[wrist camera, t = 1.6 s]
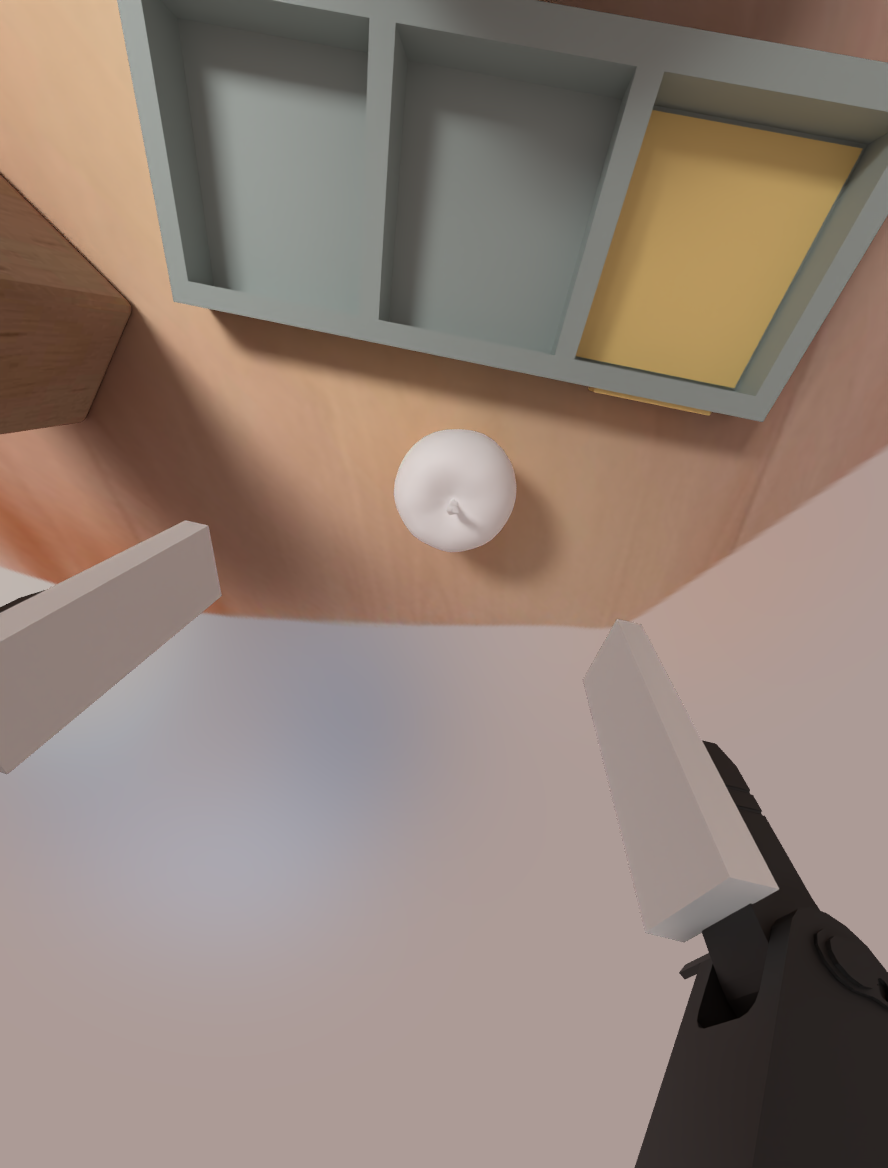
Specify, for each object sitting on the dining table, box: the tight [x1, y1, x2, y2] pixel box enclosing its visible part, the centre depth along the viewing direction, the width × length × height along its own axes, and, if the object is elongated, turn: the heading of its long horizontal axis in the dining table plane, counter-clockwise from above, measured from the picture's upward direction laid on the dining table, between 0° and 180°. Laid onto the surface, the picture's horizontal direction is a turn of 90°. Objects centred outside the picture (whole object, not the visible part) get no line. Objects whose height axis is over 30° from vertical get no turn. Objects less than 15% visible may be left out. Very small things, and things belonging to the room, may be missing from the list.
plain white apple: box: [394, 429, 516, 552], centre depth 21 cm, size 7×7×8 cm
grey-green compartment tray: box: [117, 0, 888, 422], centre depth 17 cm, size 11×31×3 cm, turn 80°
